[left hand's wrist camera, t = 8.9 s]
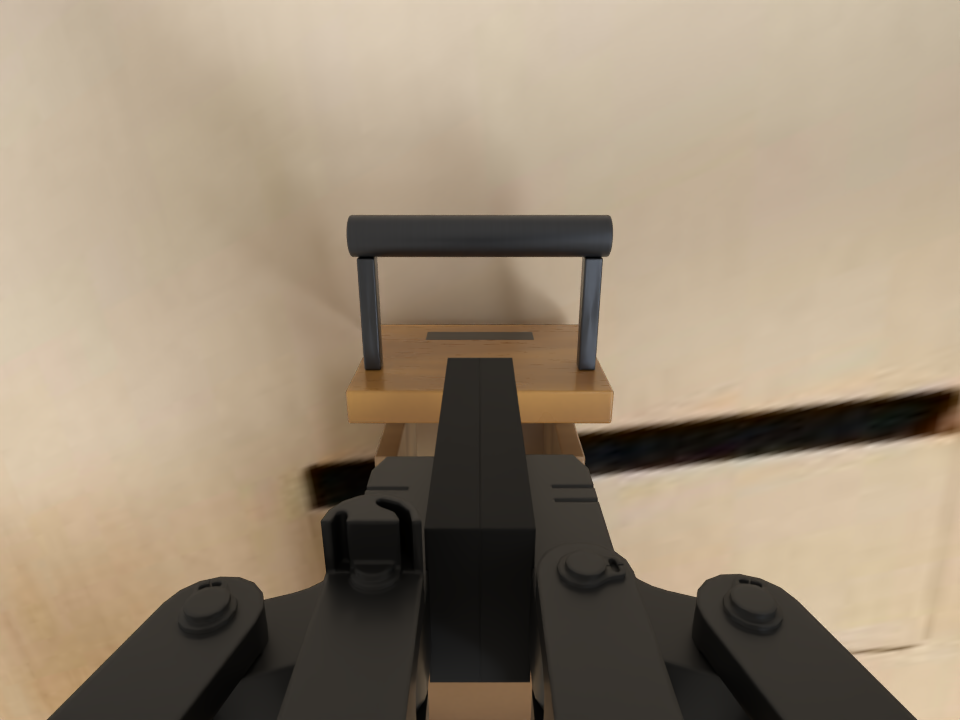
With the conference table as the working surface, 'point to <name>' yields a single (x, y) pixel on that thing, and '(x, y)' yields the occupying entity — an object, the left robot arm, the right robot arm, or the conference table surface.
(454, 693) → the cabinet
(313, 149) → the conference table surface
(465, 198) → the conference table surface
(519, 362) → the drawer
